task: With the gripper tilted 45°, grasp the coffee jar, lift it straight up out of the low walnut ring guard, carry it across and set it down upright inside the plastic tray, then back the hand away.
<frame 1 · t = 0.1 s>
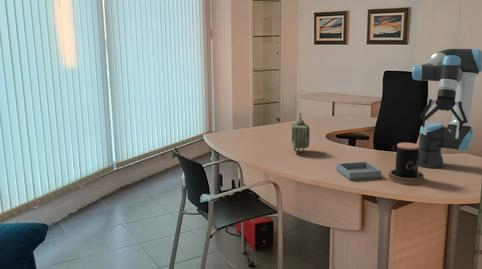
hand: (440, 136, 215), 28 cm above the table, tool tilted 20°, fingers open, 13 cm apart
green lantern: (300, 152, 295), on the table
coffee jar: (405, 179, 243), resting in ring guard
ring guard: (405, 179, 243), on the table
tray: (358, 174, 252), on the table
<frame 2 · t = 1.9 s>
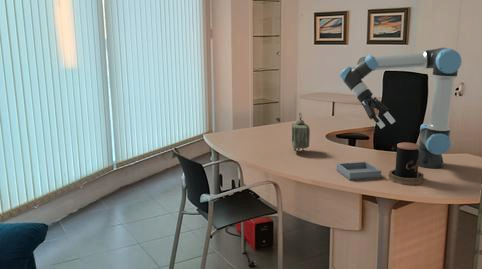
hand: (388, 124, 243), 27 cm above the table, tool tilted 45°, fingers open, 13 cm apart
nothing on the table moved.
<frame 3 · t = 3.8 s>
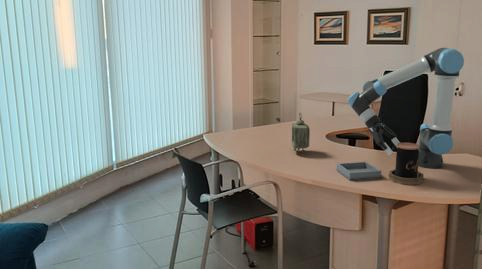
hand: (396, 151, 243), 14 cm above the table, tool tilted 45°, fingers open, 13 cm apart
nothing on the table moved.
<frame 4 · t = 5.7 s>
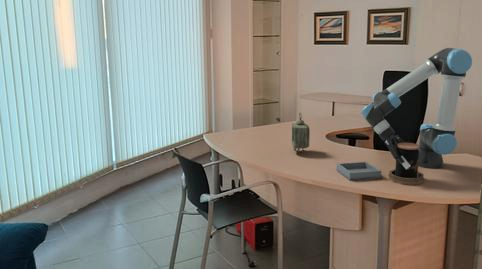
hand: (412, 165, 240), 8 cm above the table, tool tilted 45°, fingers closed on coffee jar, 11 cm apart
coffee jar: (405, 179, 243), resting in ring guard, touching gripper
everything else where it was.
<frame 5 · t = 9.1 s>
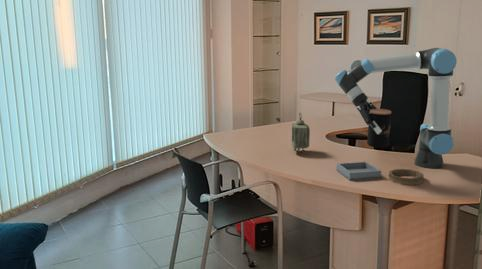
hand: (384, 130, 240), 25 cm above the table, tool tilted 45°, fingers closed on coffee jar, 11 cm apart
coffee jar: (377, 145, 244), point 17 cm above the table, touching gripper
everything else where it was.
when the fingers open (11 cm above the table, at t = 12.7 s): coffee jar drops 1 cm, resting on tray.
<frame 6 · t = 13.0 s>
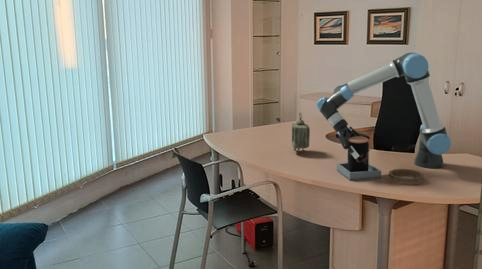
hand: (363, 154, 248), 11 cm above the table, tool tilted 45°, fingers open, 13 cm apart
coffee jar: (358, 172, 252), point 1 cm above the table, touching tray
everything else where it was.
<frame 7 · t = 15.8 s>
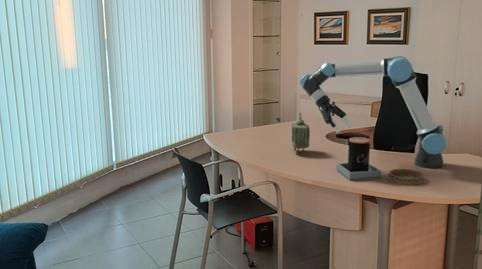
hand: (345, 129, 255), 22 cm above the table, tool tilted 45°, fingers open, 13 cm apart
nothing on the table moved.
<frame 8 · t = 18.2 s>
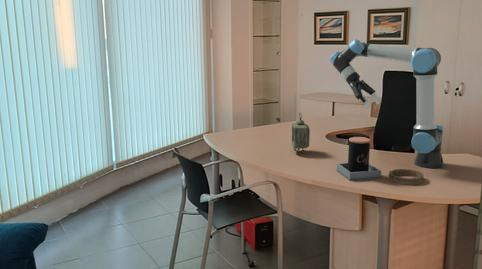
hand: (374, 104, 262), 34 cm above the table, tool tilted 45°, fingers open, 13 cm apart
nothing on the table moved.
at the end: coffee jar inside the target area on the tray (0.1 cm from its centre), point 0.8 cm above the tray's base; coffee jar tilted 0°; the gripper is holding nothing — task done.
